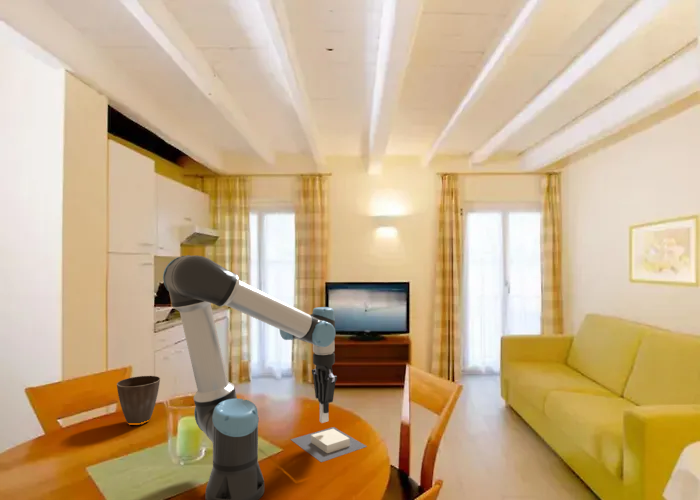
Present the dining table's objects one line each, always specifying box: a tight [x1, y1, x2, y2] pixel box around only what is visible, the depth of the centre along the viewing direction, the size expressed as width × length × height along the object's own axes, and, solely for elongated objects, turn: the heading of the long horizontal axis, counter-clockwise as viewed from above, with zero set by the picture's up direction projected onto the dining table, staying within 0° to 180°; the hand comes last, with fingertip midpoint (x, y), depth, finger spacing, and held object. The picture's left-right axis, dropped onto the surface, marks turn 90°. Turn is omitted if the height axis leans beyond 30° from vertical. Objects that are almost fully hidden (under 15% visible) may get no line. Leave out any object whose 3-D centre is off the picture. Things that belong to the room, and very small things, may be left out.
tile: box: [311, 429, 350, 453], centre depth 139 cm, size 9×3×10 cm
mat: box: [290, 426, 368, 463], centre depth 140 cm, size 18×20×1 cm
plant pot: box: [116, 375, 161, 424], centre depth 160 cm, size 15×15×16 cm
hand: (324, 421), depth 142 cm, fingers closed
